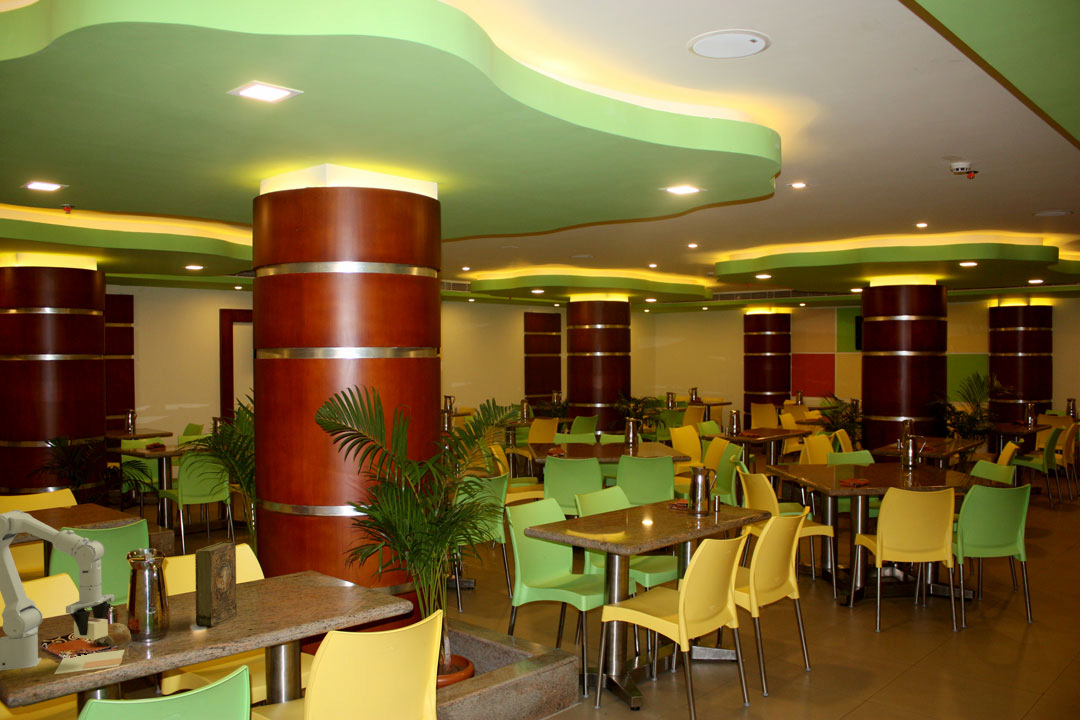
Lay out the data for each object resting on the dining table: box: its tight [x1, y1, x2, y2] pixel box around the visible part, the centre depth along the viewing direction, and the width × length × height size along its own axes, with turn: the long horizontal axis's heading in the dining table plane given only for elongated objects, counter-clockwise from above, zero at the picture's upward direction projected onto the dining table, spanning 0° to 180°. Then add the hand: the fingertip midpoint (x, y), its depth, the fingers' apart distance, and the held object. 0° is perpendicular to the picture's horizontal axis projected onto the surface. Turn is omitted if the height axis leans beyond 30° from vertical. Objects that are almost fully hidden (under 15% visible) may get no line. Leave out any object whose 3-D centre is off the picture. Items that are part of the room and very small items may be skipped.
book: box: [194, 541, 238, 628], centre depth 287 cm, size 16×6×25 cm, turn 168°
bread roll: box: [94, 622, 132, 647], centre depth 264 cm, size 10×10×8 cm
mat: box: [54, 649, 125, 675], centre depth 245 cm, size 16×16×1 cm
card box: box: [73, 616, 109, 641], centre depth 245 cm, size 4×8×5 cm, turn 68°
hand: (90, 632), depth 245 cm, fingers closed on card box, 4 cm apart
